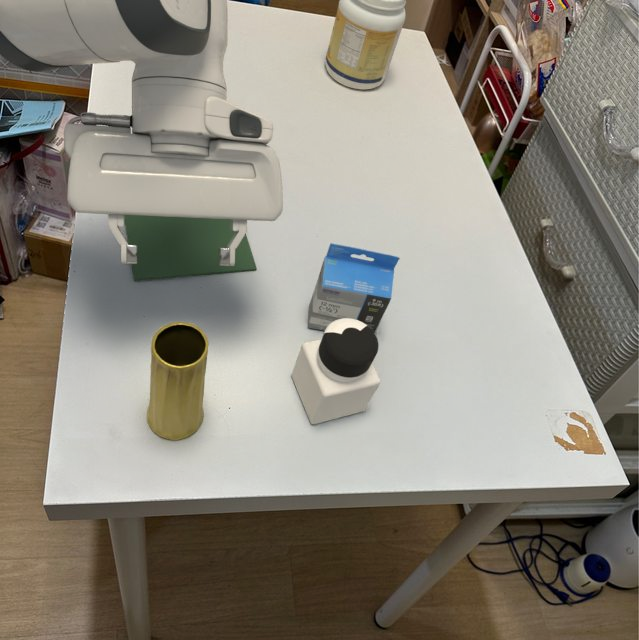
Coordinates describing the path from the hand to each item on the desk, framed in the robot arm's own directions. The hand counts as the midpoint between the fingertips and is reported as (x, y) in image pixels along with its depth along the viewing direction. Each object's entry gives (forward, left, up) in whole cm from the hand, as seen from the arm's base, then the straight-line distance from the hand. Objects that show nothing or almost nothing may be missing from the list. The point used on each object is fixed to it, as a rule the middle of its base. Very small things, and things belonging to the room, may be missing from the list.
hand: (179, 264), depth 60 cm
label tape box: (+22, +1, -15) cm, 27 cm away
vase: (-1, -9, -15) cm, 18 cm away
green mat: (+5, +18, -15) cm, 24 cm away
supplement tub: (+44, +58, -15) cm, 74 cm away
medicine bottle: (+17, -9, -15) cm, 25 cm away
